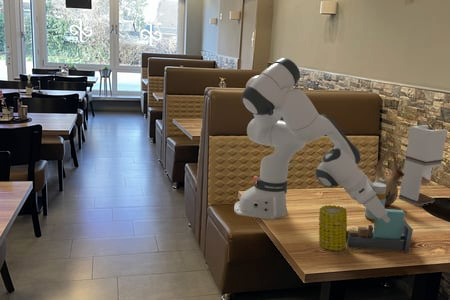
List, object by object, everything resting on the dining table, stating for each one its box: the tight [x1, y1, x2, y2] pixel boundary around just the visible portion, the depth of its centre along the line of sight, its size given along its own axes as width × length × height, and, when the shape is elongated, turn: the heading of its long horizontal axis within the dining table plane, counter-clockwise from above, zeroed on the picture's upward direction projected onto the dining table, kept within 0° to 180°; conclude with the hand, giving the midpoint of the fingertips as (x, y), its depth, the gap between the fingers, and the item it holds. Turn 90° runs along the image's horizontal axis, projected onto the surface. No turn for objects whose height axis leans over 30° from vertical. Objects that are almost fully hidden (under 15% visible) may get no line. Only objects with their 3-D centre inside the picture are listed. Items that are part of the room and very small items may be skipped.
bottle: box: [364, 181, 386, 222], centre depth 178 cm, size 7×7×15 cm
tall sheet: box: [373, 208, 405, 239], centre depth 153 cm, size 9×2×14 cm, turn 87°
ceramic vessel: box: [372, 150, 404, 207], centre depth 194 cm, size 16×9×25 cm, turn 30°
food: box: [318, 204, 348, 252], centre depth 152 cm, size 15×12×10 cm
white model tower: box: [398, 124, 448, 207], centre depth 200 cm, size 11×11×35 cm
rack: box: [346, 220, 414, 254], centre depth 154 cm, size 21×8×9 cm, turn 87°
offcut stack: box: [347, 224, 374, 240], centre depth 155 cm, size 8×2×8 cm, turn 87°
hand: (384, 215), depth 152 cm, fingers open, 8 cm apart
